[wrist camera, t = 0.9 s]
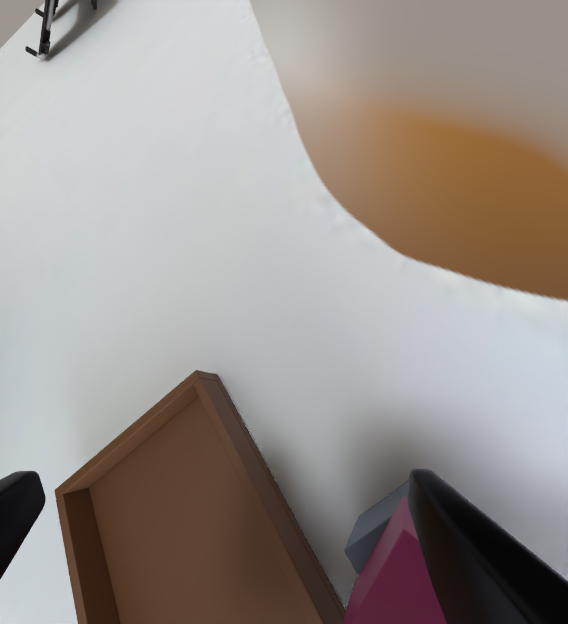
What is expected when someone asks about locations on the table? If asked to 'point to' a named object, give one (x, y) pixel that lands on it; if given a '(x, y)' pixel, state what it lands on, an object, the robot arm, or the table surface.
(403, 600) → the mulberry block
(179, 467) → the tray
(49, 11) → the laptop tray
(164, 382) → the table surface
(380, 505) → the slate block
